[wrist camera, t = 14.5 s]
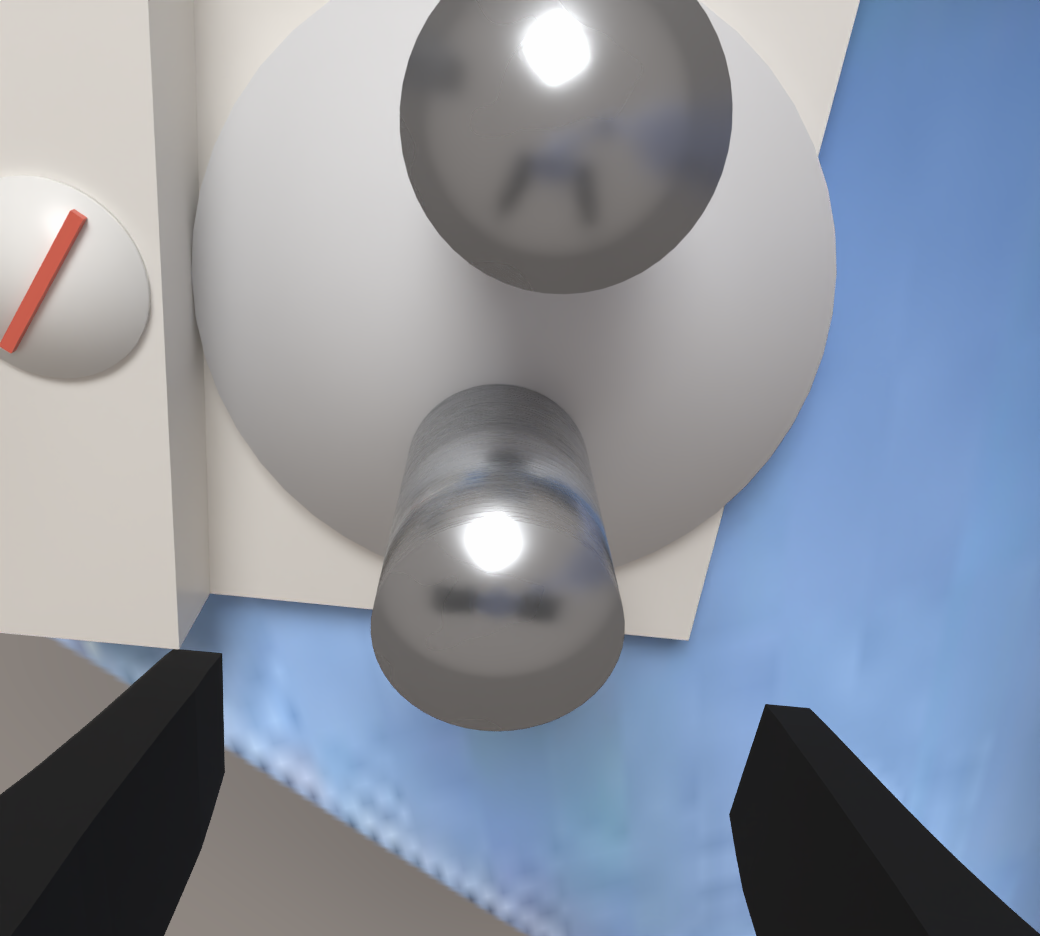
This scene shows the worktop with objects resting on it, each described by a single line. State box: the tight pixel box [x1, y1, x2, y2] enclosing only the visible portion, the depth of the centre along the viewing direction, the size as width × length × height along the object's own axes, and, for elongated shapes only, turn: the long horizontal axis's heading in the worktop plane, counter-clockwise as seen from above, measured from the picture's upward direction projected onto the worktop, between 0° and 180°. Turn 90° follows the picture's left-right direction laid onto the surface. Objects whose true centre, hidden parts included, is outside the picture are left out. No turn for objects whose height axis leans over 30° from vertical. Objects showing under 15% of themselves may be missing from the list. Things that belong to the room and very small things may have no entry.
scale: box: [0, 0, 860, 649], centre depth 17 cm, size 17×16×4 cm
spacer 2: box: [371, 384, 625, 731], centre depth 16 cm, size 4×4×6 cm
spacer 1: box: [400, 0, 733, 294], centre depth 13 cm, size 4×4×6 cm
